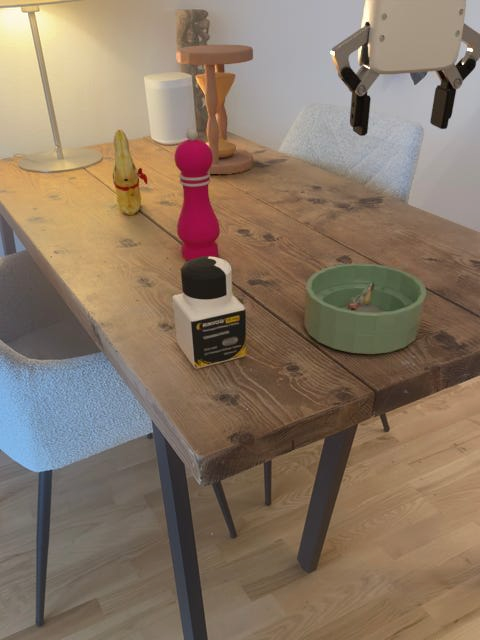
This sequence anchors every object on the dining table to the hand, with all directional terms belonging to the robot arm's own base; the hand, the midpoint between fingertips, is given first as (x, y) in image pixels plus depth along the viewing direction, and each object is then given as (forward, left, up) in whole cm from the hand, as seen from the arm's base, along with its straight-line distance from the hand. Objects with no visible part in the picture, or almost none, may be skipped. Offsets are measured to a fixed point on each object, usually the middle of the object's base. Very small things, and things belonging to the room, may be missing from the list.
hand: (399, 129), depth 66 cm
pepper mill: (+22, -26, -24) cm, 42 cm away
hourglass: (+11, -83, -24) cm, 87 cm away
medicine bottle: (+24, +6, -24) cm, 34 cm away
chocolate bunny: (+33, -54, -24) cm, 68 cm away
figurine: (+3, +4, -24) cm, 24 cm away
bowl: (+3, +4, -24) cm, 24 cm away
